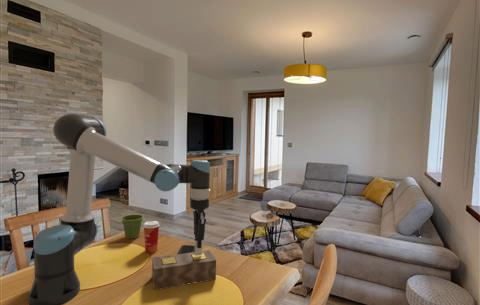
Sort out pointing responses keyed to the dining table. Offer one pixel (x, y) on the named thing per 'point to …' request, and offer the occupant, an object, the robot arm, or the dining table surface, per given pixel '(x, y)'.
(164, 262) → the peg left
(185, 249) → the phone
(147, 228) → the paper cup
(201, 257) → the peg right
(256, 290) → the dining table surface
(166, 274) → the walnut block
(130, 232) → the plant pot
